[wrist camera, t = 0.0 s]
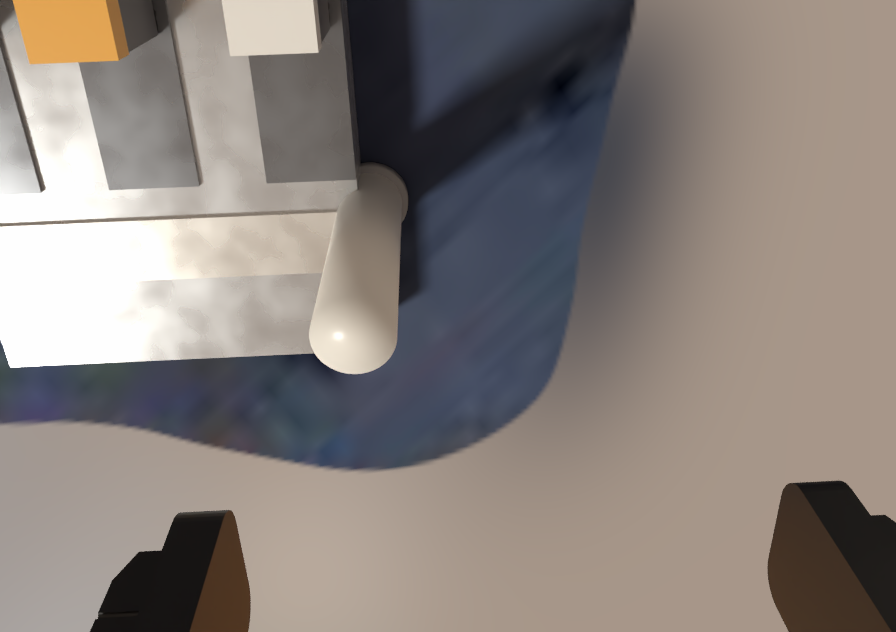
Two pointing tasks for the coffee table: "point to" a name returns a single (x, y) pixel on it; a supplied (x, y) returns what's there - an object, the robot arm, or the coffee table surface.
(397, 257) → the post
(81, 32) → the toggle
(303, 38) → the toggle
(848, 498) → the robot arm
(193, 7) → the breaker panel
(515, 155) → the coffee table surface
